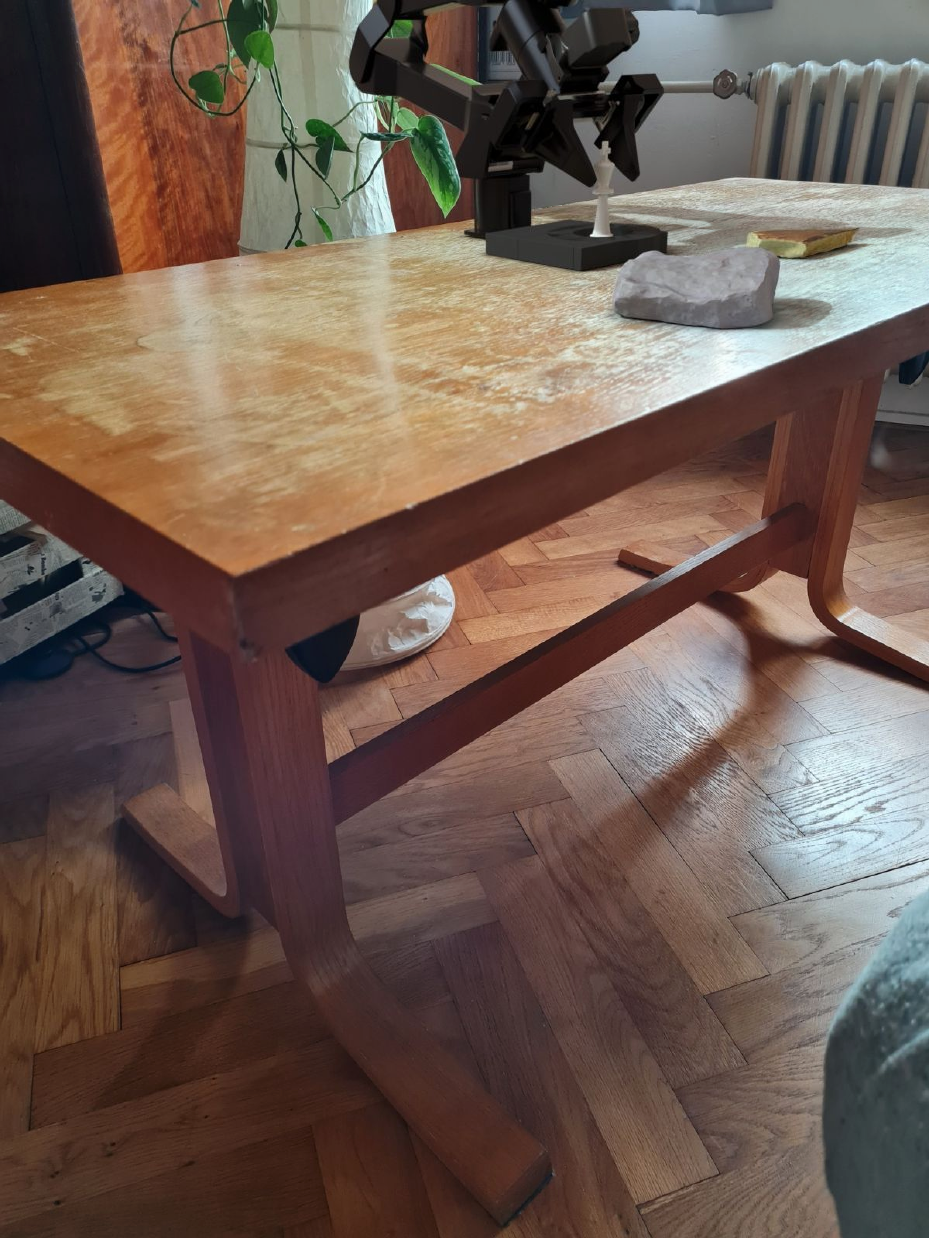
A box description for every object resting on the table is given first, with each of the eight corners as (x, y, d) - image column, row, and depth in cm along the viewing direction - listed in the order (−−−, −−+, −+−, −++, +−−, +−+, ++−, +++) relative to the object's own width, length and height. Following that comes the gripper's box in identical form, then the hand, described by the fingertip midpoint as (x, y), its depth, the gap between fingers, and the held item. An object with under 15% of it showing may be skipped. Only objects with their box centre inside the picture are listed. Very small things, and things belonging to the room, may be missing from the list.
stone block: (768, 355, 63) (778, 295, 70) (774, 288, 60) (784, 233, 67) (602, 352, 67) (627, 296, 74) (600, 289, 64) (626, 236, 70)
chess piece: (568, 255, 90) (570, 143, 84) (588, 247, 93) (592, 139, 88) (613, 258, 87) (619, 143, 82) (632, 250, 91) (639, 139, 86)
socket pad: (485, 254, 92) (485, 233, 91) (580, 236, 99) (580, 217, 98) (586, 272, 82) (587, 249, 81) (683, 251, 89) (685, 230, 88)
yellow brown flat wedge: (855, 244, 89) (859, 224, 88) (877, 258, 82) (882, 237, 81) (744, 246, 90) (747, 227, 89) (757, 260, 84) (760, 240, 83)
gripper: (502, -28, 76) (583, 121, 74) (658, -26, 85) (734, 108, 83) (454, 80, 86) (525, 215, 84) (598, 73, 95) (665, 194, 93)
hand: (615, 181), depth 86 cm, fingers open, 5 cm apart
